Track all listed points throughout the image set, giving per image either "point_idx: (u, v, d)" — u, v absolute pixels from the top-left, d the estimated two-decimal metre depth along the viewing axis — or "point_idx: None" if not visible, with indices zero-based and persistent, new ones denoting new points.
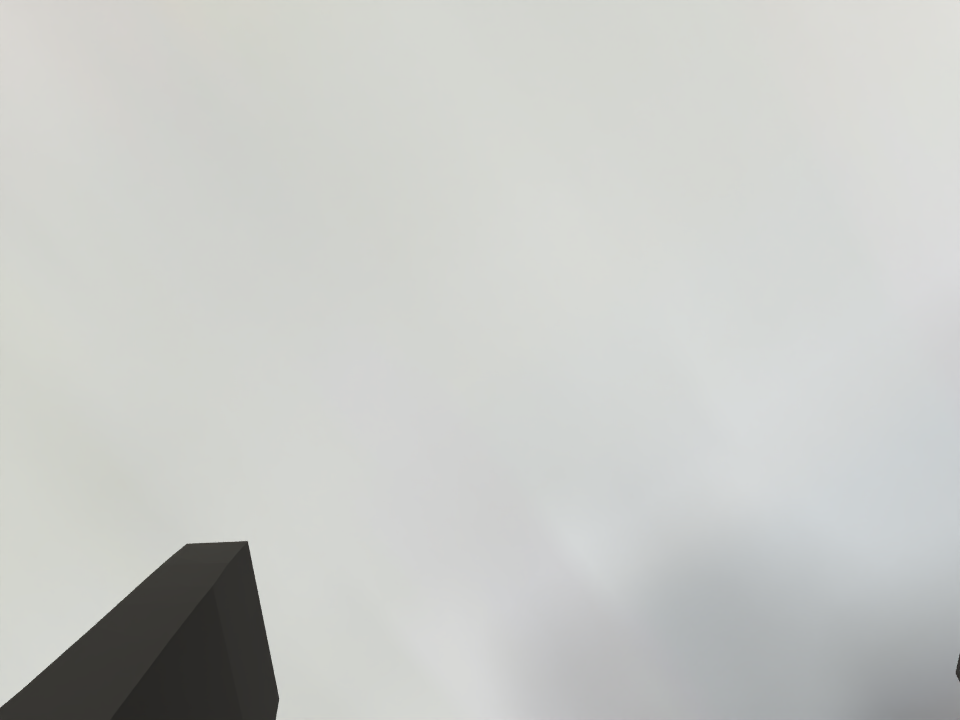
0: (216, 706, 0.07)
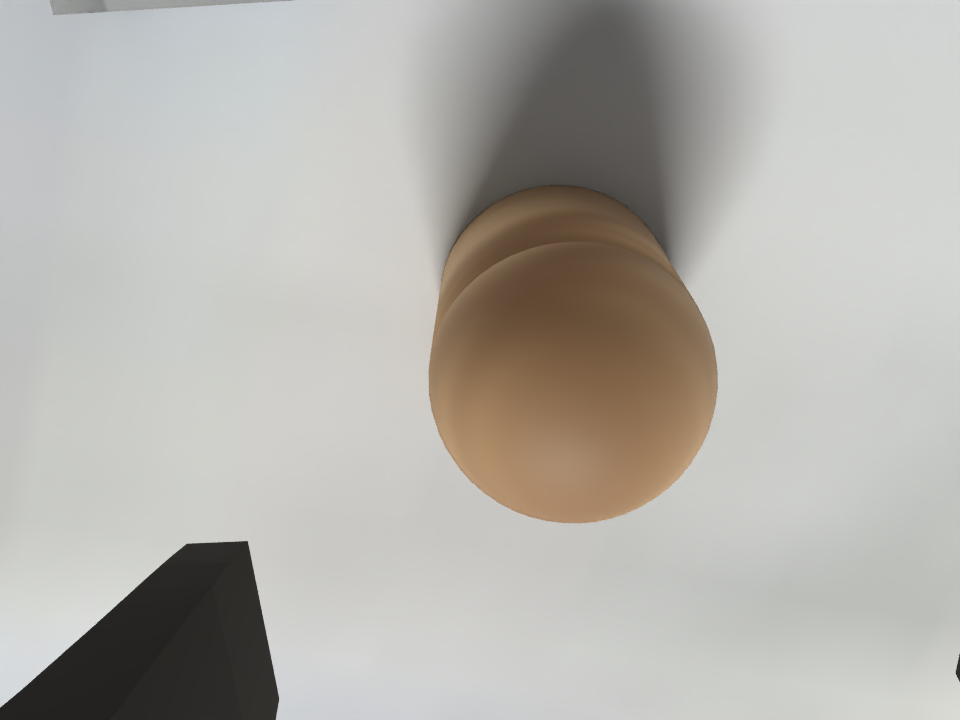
0: (216, 706, 0.07)
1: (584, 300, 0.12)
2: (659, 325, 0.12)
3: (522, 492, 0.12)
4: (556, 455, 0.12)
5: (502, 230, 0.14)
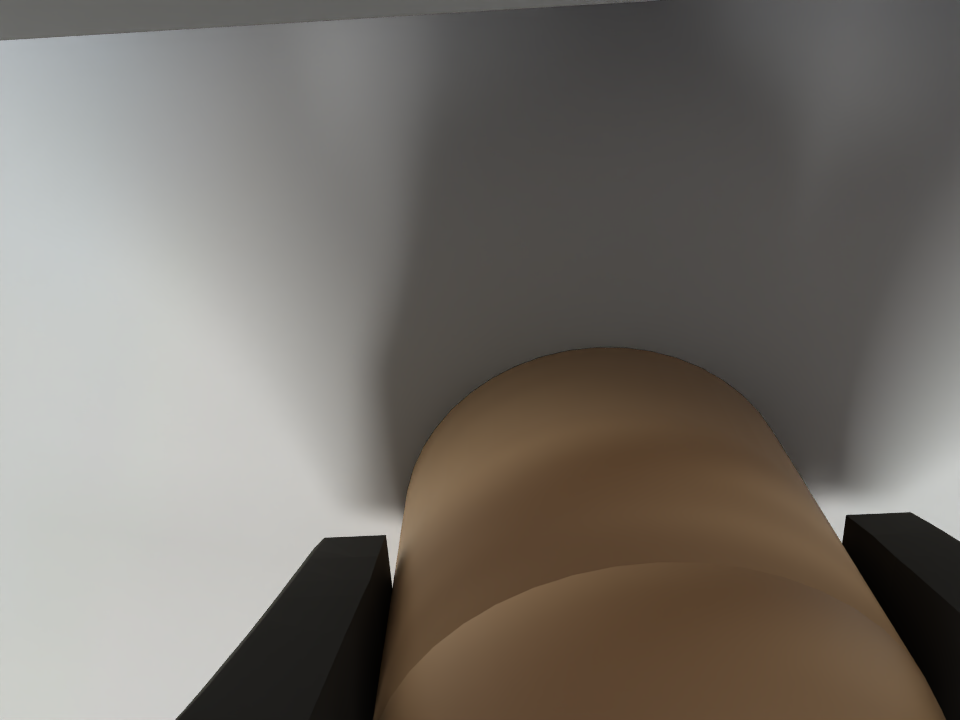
0: (372, 701, 0.07)
1: None
2: None
3: None
4: None
5: (511, 475, 0.07)
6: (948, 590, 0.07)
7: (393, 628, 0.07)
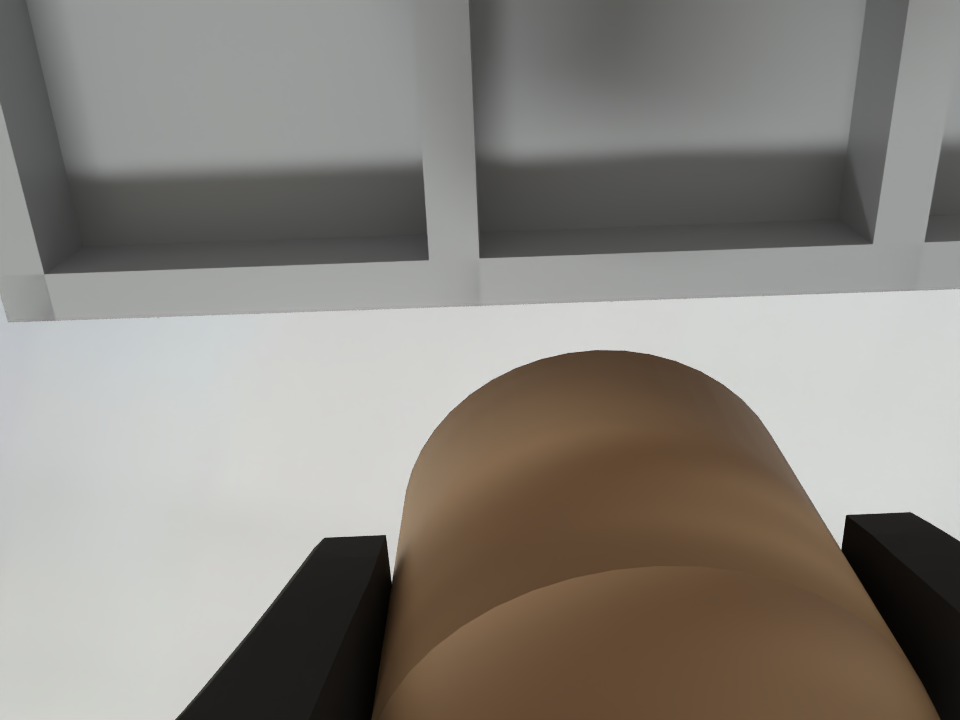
0: (372, 701, 0.07)
1: None
2: None
3: None
4: None
5: (509, 478, 0.07)
6: (948, 590, 0.07)
7: (392, 630, 0.07)
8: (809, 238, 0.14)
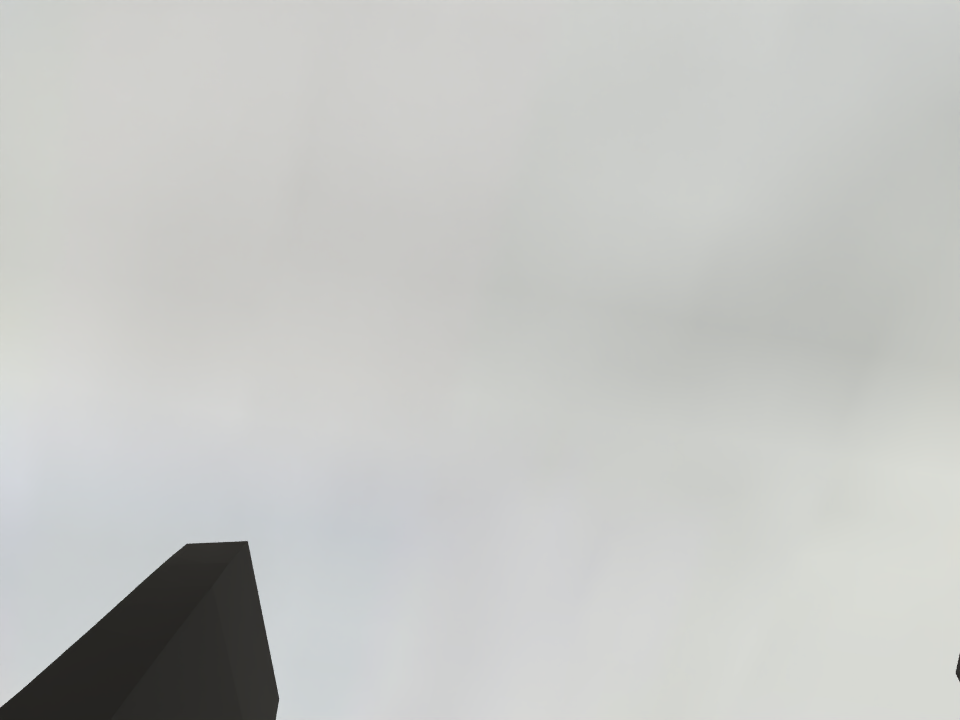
0: (215, 706, 0.07)
1: None
2: None
3: None
4: None
5: None
6: None
7: None
8: None
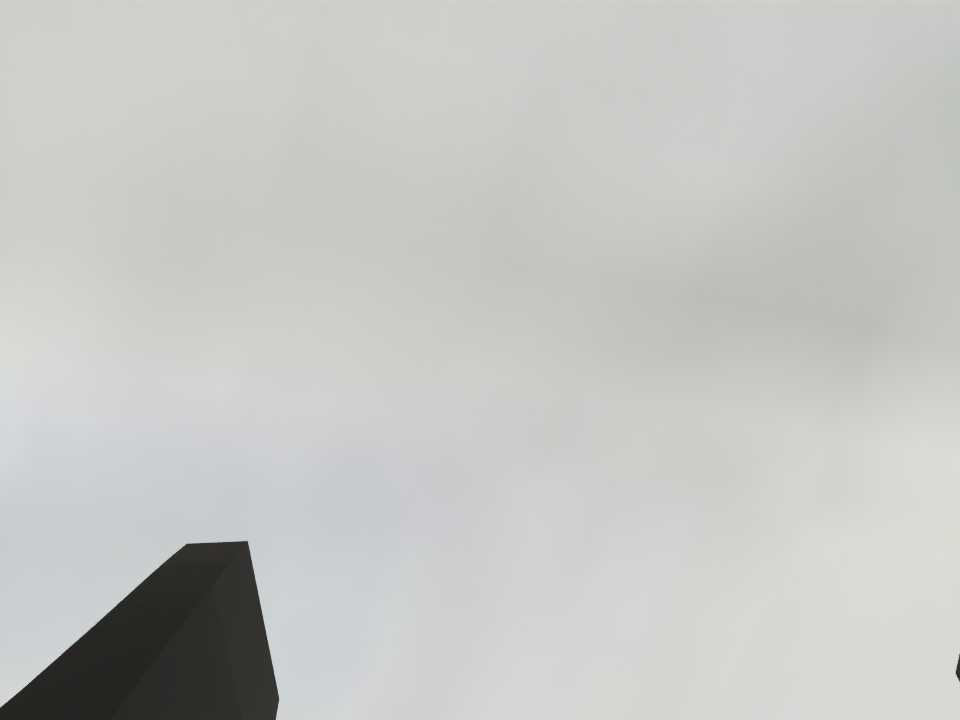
0: (216, 706, 0.07)
1: None
2: None
3: None
4: None
5: None
6: None
7: None
8: None
